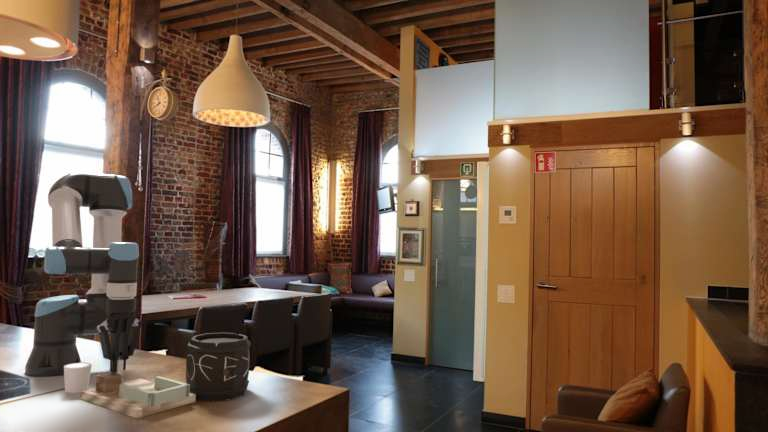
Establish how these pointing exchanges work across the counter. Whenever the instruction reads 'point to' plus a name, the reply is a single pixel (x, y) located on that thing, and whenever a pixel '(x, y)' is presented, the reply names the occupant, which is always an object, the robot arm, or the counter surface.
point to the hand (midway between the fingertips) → (117, 383)
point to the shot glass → (77, 377)
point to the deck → (132, 407)
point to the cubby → (167, 392)
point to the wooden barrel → (218, 365)
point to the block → (108, 382)
